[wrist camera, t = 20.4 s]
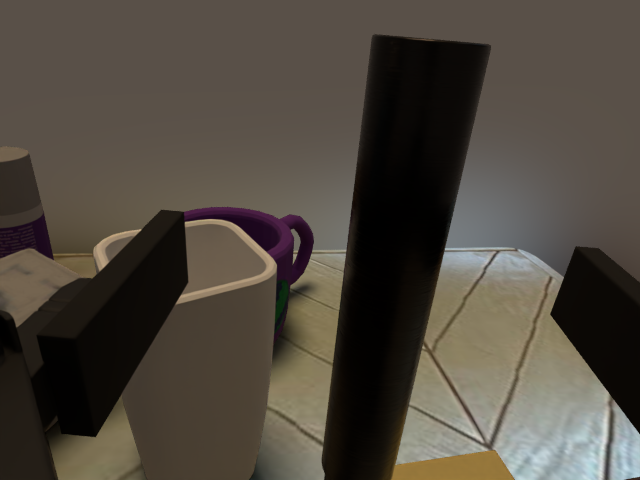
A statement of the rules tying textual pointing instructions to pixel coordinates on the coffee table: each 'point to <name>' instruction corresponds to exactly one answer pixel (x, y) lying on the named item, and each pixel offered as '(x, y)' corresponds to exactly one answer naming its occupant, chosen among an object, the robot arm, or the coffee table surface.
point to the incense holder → (30, 284)
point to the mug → (269, 246)
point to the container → (20, 206)
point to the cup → (206, 360)
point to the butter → (456, 468)
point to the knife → (396, 240)
